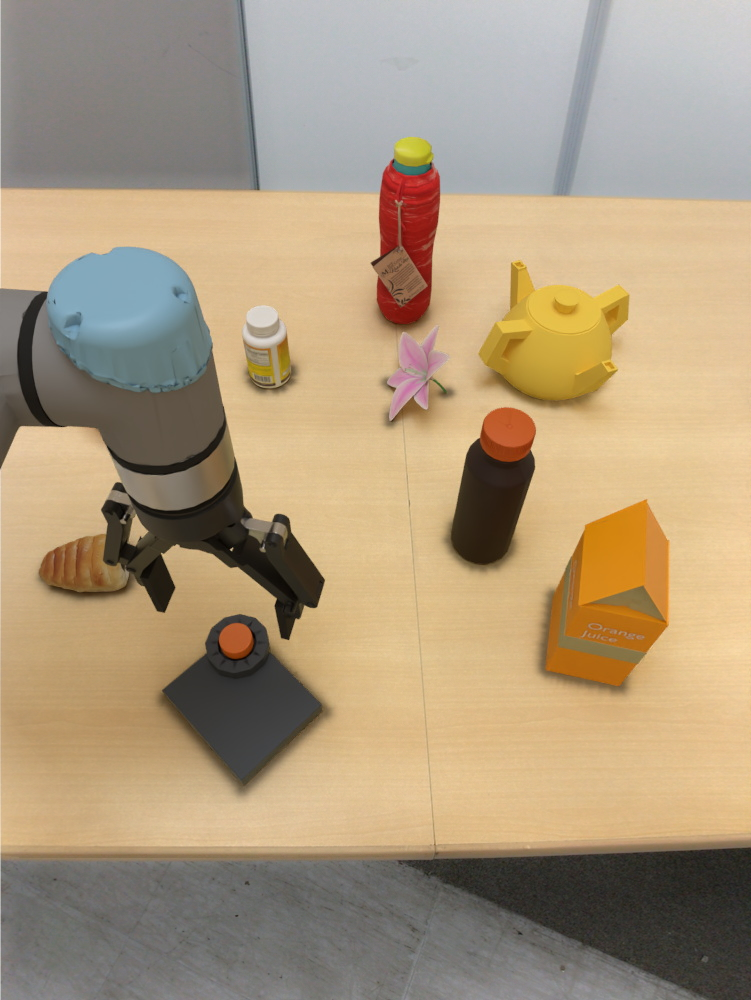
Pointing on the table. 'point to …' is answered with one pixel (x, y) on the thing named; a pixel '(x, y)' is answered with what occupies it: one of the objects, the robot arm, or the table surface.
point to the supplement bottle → (266, 347)
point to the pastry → (82, 567)
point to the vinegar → (494, 486)
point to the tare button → (236, 641)
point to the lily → (415, 371)
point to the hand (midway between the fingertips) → (227, 612)
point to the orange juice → (611, 597)
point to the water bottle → (407, 231)
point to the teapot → (555, 338)
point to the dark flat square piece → (242, 701)
